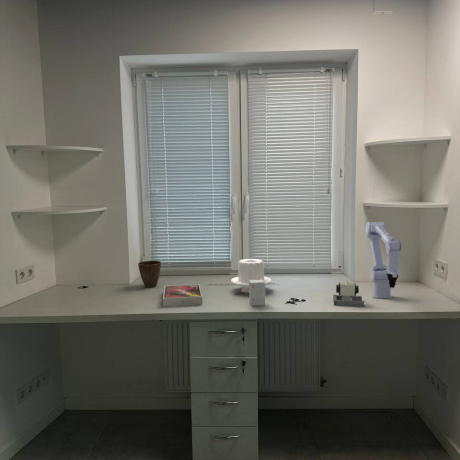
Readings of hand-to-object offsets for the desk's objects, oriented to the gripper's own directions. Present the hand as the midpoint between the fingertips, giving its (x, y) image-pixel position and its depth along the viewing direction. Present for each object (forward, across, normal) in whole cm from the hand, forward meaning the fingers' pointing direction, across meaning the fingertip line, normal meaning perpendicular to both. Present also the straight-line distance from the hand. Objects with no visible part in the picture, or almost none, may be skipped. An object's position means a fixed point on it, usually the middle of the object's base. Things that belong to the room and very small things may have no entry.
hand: (391, 287), depth 208 cm
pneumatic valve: (+10, +1, -23) cm, 25 cm away
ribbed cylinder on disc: (+10, -15, -80) cm, 82 cm away
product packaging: (+10, +9, -117) cm, 118 cm away
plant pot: (+10, -14, -148) cm, 149 cm away
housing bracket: (+9, +1, -22) cm, 24 cm away
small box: (+10, +12, -72) cm, 74 cm away
